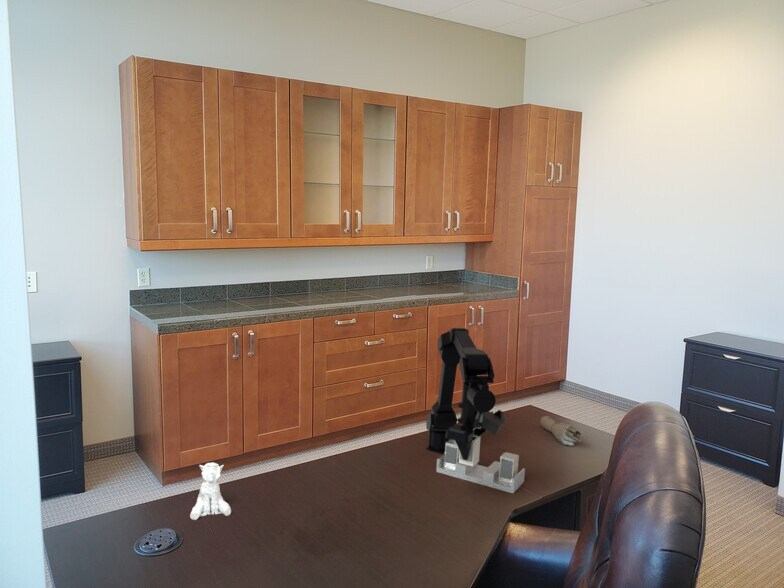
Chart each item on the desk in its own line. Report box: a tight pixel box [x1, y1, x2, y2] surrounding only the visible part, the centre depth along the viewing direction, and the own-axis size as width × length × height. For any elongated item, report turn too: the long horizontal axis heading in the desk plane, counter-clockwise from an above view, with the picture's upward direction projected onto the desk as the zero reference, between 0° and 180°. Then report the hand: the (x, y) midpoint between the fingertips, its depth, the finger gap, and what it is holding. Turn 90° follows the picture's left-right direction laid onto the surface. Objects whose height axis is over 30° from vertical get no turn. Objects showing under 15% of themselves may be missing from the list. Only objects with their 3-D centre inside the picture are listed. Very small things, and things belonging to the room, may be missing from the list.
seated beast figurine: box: [189, 462, 232, 521], centre depth 149 cm, size 10×9×12 cm
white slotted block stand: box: [435, 439, 526, 494], centre depth 176 cm, size 24×9×8 cm, turn 59°
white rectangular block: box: [459, 435, 482, 466], centre depth 162 cm, size 4×4×7 cm
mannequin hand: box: [539, 415, 583, 447], centre depth 209 cm, size 7×7×25 cm
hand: (468, 456), depth 162 cm, fingers closed on white rectangular block, 4 cm apart
